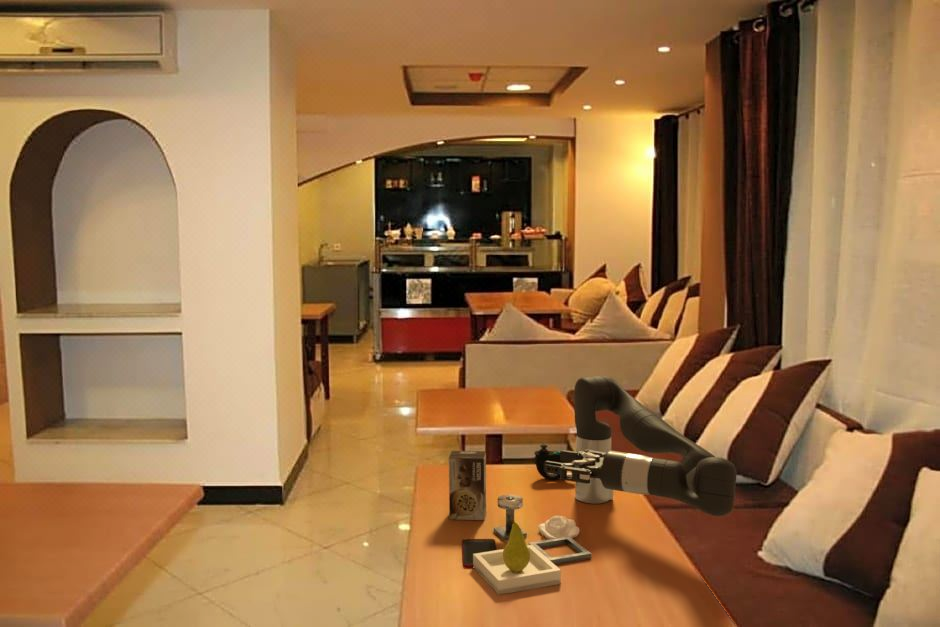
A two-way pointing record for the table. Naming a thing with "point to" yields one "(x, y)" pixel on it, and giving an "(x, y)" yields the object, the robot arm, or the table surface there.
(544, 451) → the controller
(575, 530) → the rose
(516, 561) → the fruit
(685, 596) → the table surface
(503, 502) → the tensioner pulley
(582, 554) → the grey square frame
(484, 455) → the coffee box
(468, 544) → the cell phone
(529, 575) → the tray
